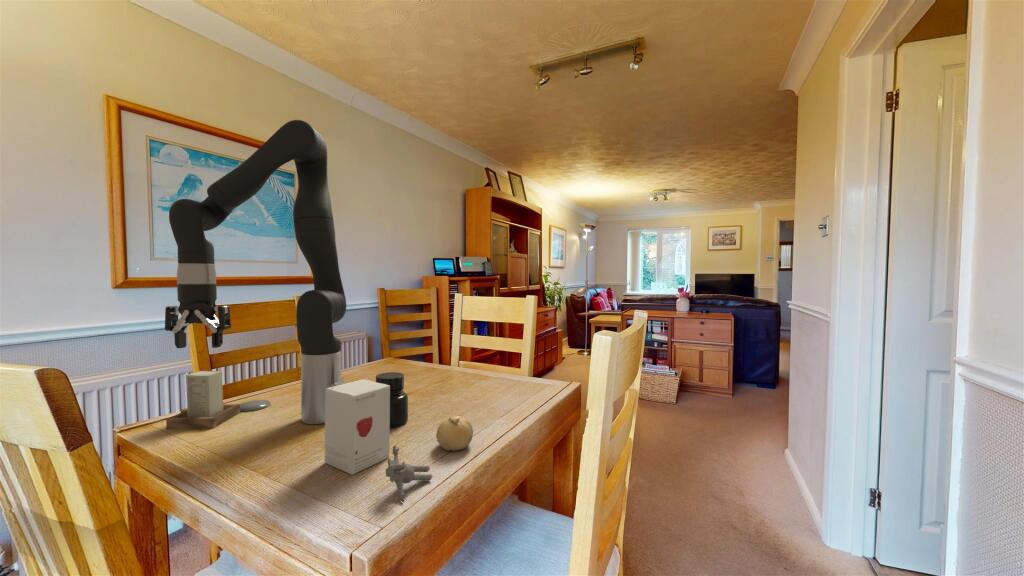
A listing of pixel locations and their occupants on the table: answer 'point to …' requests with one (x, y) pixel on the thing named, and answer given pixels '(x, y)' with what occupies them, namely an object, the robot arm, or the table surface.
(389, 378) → the ink bottle
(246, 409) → the coaster
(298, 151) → the robot arm
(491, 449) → the table surface
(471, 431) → the onion
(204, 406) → the skincare box
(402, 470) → the grey toy figurine
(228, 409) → the brown square shallow tray
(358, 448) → the supplement box
